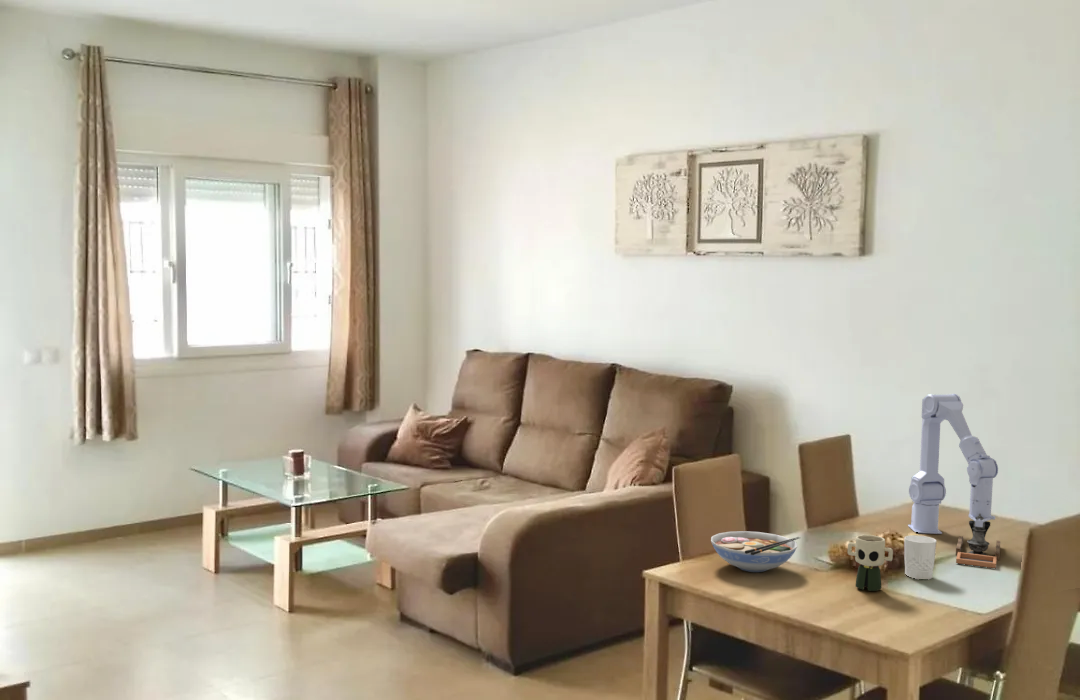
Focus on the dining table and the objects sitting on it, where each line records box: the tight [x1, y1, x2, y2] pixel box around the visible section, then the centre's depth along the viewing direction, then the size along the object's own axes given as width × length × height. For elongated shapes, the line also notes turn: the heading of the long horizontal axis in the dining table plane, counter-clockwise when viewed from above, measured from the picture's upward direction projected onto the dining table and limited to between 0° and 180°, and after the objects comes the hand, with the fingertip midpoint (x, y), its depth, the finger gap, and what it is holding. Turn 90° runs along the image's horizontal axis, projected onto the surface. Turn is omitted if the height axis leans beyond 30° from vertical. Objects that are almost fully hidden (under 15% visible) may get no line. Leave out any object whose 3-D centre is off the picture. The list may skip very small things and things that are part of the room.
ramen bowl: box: [710, 530, 800, 573], centre depth 272 cm, size 25×23×8 cm
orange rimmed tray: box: [955, 535, 1001, 562], centre depth 295 cm, size 16×11×2 cm
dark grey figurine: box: [966, 514, 990, 556], centre depth 291 cm, size 6×6×12 cm
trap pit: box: [955, 552, 998, 570], centre depth 282 cm, size 8×10×2 cm
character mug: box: [847, 534, 894, 592], centre depth 255 cm, size 11×7×13 cm, turn 61°
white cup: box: [903, 534, 937, 580], centre depth 268 cm, size 8×8×10 cm
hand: (978, 546), depth 295 cm, fingers closed
